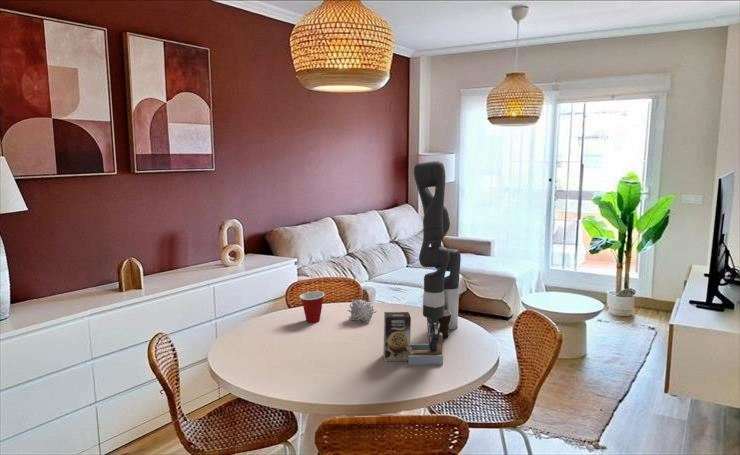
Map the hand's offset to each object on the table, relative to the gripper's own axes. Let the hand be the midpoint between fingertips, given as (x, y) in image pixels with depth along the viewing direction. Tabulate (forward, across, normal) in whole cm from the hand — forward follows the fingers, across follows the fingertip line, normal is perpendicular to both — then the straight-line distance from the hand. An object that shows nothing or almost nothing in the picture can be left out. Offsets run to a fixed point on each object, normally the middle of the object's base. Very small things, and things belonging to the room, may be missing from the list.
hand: (432, 349), depth 184 cm
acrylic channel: (+3, 0, -3) cm, 5 cm away
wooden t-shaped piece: (+3, 0, -3) cm, 4 cm away
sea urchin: (+3, -42, -24) cm, 49 cm away
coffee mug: (+3, -22, +7) cm, 24 cm away
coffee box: (+3, -1, -13) cm, 13 cm away
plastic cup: (+3, -43, -46) cm, 62 cm away
